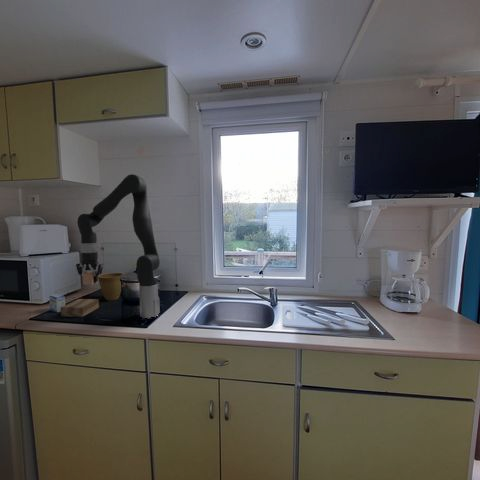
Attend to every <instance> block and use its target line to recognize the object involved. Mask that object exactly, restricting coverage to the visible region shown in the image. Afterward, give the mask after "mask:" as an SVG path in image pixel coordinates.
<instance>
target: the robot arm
mask: <svg viewBox="0 0 480 480" xmlns="http://www.w3.org/2000/svg"><path fill="white" fill-rule="evenodd" d="M147 190H148V188H147V183H146V181H145V179H144V178H142V177H140V176H139V175H137V174H133V173H132V174H131V173H130V174H128V175H127V176H125V177H124V178H123V179H122V180H121V182H120V183H118V185H117V186H116V187H115V188H114V189H113V190H112V191H111V192H110V193H109V194H108V195H107V196H106V197H105V198H104V199H102V200H101V201H99V202H98V203H97V204H95V206H94V207H93V209H92V212H90V213H82V214H80V215H79V216H78V217H77V222H76V223H77V227H78V230H79V233H80V243H81V244H80V259H81V262H79V263H76V264H75V267H76V270H77V273H78V275H79V276H80V275H81V276H82V280H81V281H83V273H86V272H92V273H93V275H94V283H96V284H98V283H97V281H98V282H99V278H98V276H99V275H103V269H104V263H99V262H98V258H99V257H98V256H99V255H98V242H97V241H98V240H97V238H98V237H97V233H96V232H95V231H94V230H93V228H94V227H96V226H97V225H99V224H100V223H101V222H102V221H103V219H105V217H106V216H108V215H109V214H111V212H113V211H114V210H116V208H117V207H118V206H119V204H120V202H121V201H122V200H123V199H124V198H125V197H127V196H129V195H130V194H131V195H132V198H133V211H132V224H133V231H134V233H135V235H136V237H137V238H138V240H139V241H140V243H141V245H142V249H143V253H144V255H140V256H139V257H138V258H137V259H136V265H135V266H136V278H137V281H138V283H139V285H138V286H139V312H140V313H139V314H140V315H139V317H140V318H141V317H142V319H145V318H147V319H152V318H151V317H155V318H157V317H156V316H157V315H158V314H159V313H160V312H161V309H160V308H161V305H160V296H159V289H158V287H159V285H158V283H159V281H158V278H157V277H155V276H154V271H155V270H157V269H158V268H159V266H160V260H161V259H160V257H159V253H158V250H157V245H156V242H155V241H156V240H155V236H154V231H153V224H152V222H153V221H152V218H151V212H150V208H149V203H148V191H147ZM160 314H161V313H160ZM160 314H159V315H160ZM159 315H158V316H159Z"/></svg>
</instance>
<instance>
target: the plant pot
mask: <svg viewBox="0 0 480 480" xmlns="http://www.w3.org/2000/svg"><path fill="white" fill-rule="evenodd" d="M122 275H124V276H125V274H124V273H122V272H111V273H102V274H100V275H98V283H99V287H100V290H101V292H102V295H103V298H104V299H105V301H116V300H118V299H119V297H120V294H121V292H122V289H121V282H120V277H121V276H122Z"/></svg>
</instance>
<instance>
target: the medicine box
mask: <svg viewBox="0 0 480 480" xmlns="http://www.w3.org/2000/svg"><path fill="white" fill-rule="evenodd" d="M65 305H66V296H65V295H63V294H59V293H56V294H50V295H49V310H50V311H51V312H55V313H61V307H62V306H65Z"/></svg>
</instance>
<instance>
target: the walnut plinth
mask: <svg viewBox="0 0 480 480" xmlns="http://www.w3.org/2000/svg"><path fill="white" fill-rule="evenodd" d="M99 301H100V300H99V299H98V298H93V299H92V298H78V299H76V300H73V301H71V302H69V303H67V304H65V306H62V307H61V312H60V317H70V318H71V317H75V318H79V317H81V318H83V317H85V316H86V315H87V316H88V314H90V313H92V312H95V310H97V309H98V308H100V303H99Z"/></svg>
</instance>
